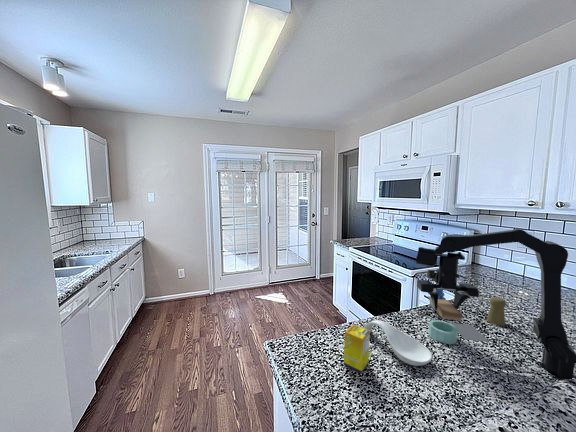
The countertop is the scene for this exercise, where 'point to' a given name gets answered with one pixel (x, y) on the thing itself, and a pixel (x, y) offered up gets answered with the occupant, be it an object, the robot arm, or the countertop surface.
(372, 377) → the countertop surface
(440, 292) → the grapes
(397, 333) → the spoon rest
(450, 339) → the bowl
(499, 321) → the olive brown pear
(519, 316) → the countertop surface
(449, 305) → the tan wooden plank
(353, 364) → the supplement box
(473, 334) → the mat
